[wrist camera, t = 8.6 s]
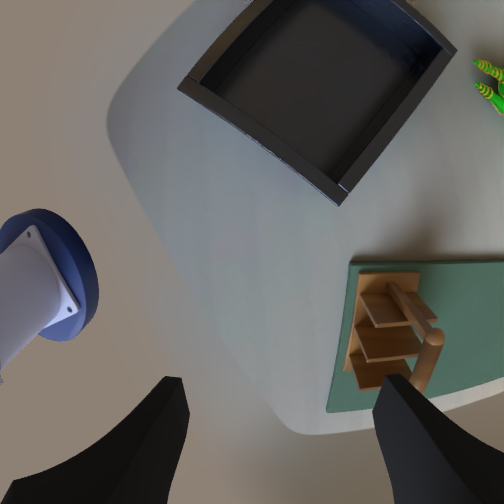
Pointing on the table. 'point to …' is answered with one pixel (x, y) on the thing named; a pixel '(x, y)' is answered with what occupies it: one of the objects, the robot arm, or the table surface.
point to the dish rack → (391, 331)
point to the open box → (321, 81)
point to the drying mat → (449, 320)
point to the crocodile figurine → (502, 99)
